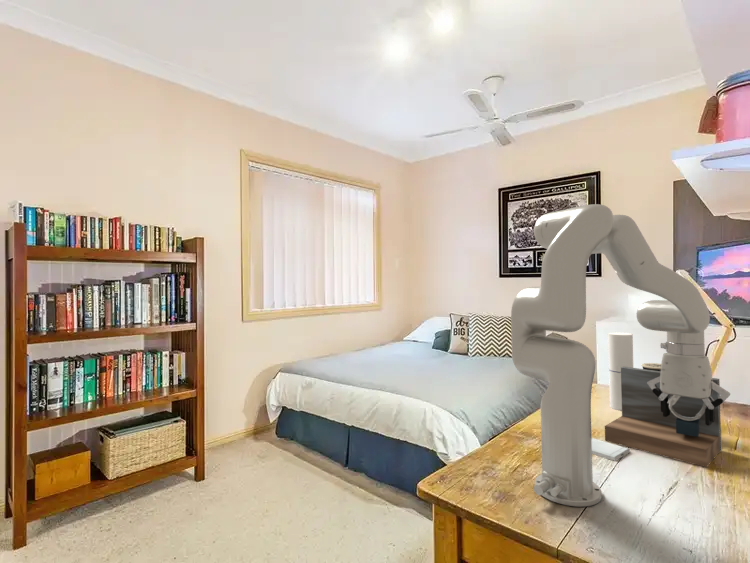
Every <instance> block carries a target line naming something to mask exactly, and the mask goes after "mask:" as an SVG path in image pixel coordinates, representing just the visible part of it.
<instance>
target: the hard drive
mask: <svg viewBox="0 0 750 563" xmlns="http://www.w3.org/2000/svg"><path fill="white" fill-rule="evenodd" d="M630 452H631V451H630V448H628V447H625V446H622V445H619V444H615V443H612V442H608V441H605V440H604V441H603V440H601V439H597V438H593V437H592V455H594V456H597V457H601V458H604V459H607V460H610V461H613V460H614V461H615V462H616V461H617V460H619V459H621V458H622V457H624V456H625V455H627V454H629V453H630ZM620 457H621V458H620Z"/></svg>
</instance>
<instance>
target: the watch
mask: <svg viewBox="0 0 750 563" xmlns="http://www.w3.org/2000/svg"><path fill="white" fill-rule="evenodd" d="M680 397H681V396H677V395H671V397H670V398H669V400H668V401H667V403H669V409H670V410H671V412H672V413H673V414H674V415H675V416H676V417H677V419H676V433H678V434H684V435H689V436H695V437H698V436H699V419H700V418H701V417H702V415H703V414H704V413H705V409H706V408H707V406H706V404H705V403H704V404H703V407H702V409H701V410H700V412H699V413H698V414H696V416H695V417H688V416H682V415H680V414H678V413H677V412H675V410H674V409H673V408H672V405H674V404H675V403H676V402H677V401H678V399H679V398H680Z"/></svg>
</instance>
